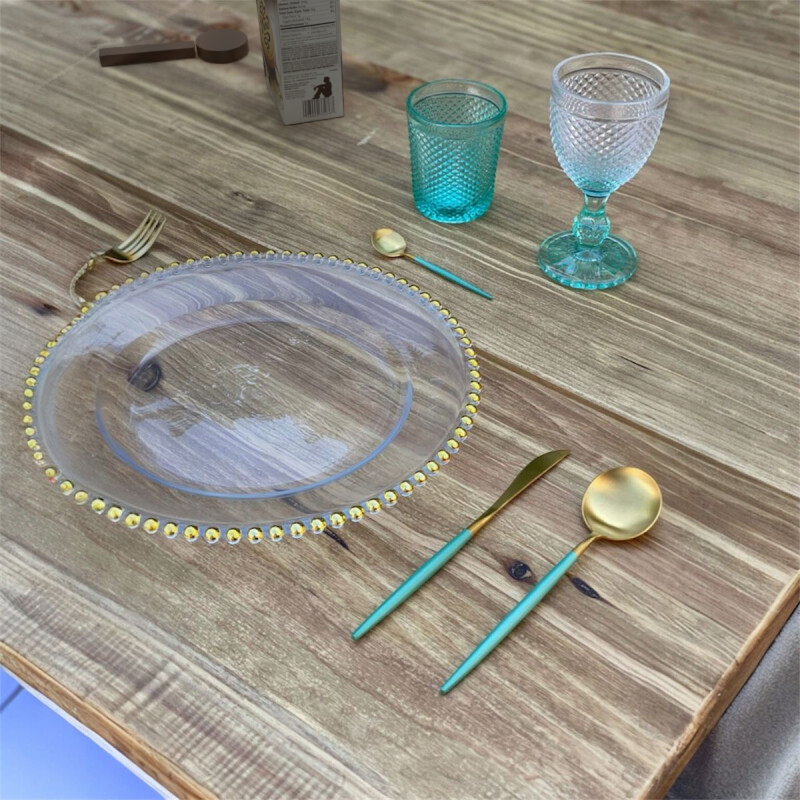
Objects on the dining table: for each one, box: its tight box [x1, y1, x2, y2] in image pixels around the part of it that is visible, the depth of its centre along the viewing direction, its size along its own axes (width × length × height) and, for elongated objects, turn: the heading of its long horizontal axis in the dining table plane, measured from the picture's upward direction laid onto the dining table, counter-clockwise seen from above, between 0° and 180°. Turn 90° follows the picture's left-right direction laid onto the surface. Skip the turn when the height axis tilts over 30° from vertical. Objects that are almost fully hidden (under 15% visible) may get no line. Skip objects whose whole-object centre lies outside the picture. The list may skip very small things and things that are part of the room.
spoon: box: [98, 28, 250, 67], centre depth 101 cm, size 16×6×1 cm, turn 102°
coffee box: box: [255, 0, 345, 126], centre depth 88 cm, size 9×6×16 cm
